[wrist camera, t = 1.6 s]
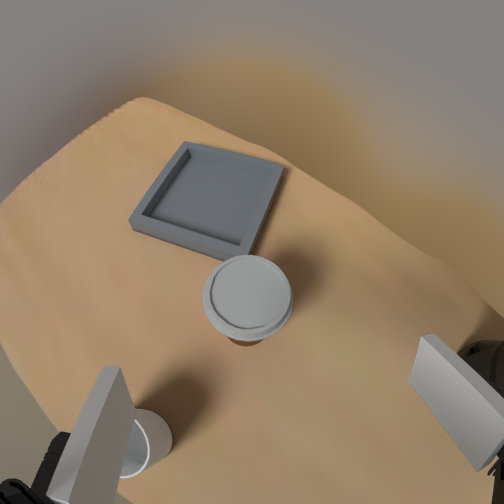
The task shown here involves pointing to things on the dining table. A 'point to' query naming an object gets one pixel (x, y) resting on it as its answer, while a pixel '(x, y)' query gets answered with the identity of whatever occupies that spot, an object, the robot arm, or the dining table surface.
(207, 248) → the slate tray
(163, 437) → the mug
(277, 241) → the dining table surface
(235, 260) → the disposable coffee cup
